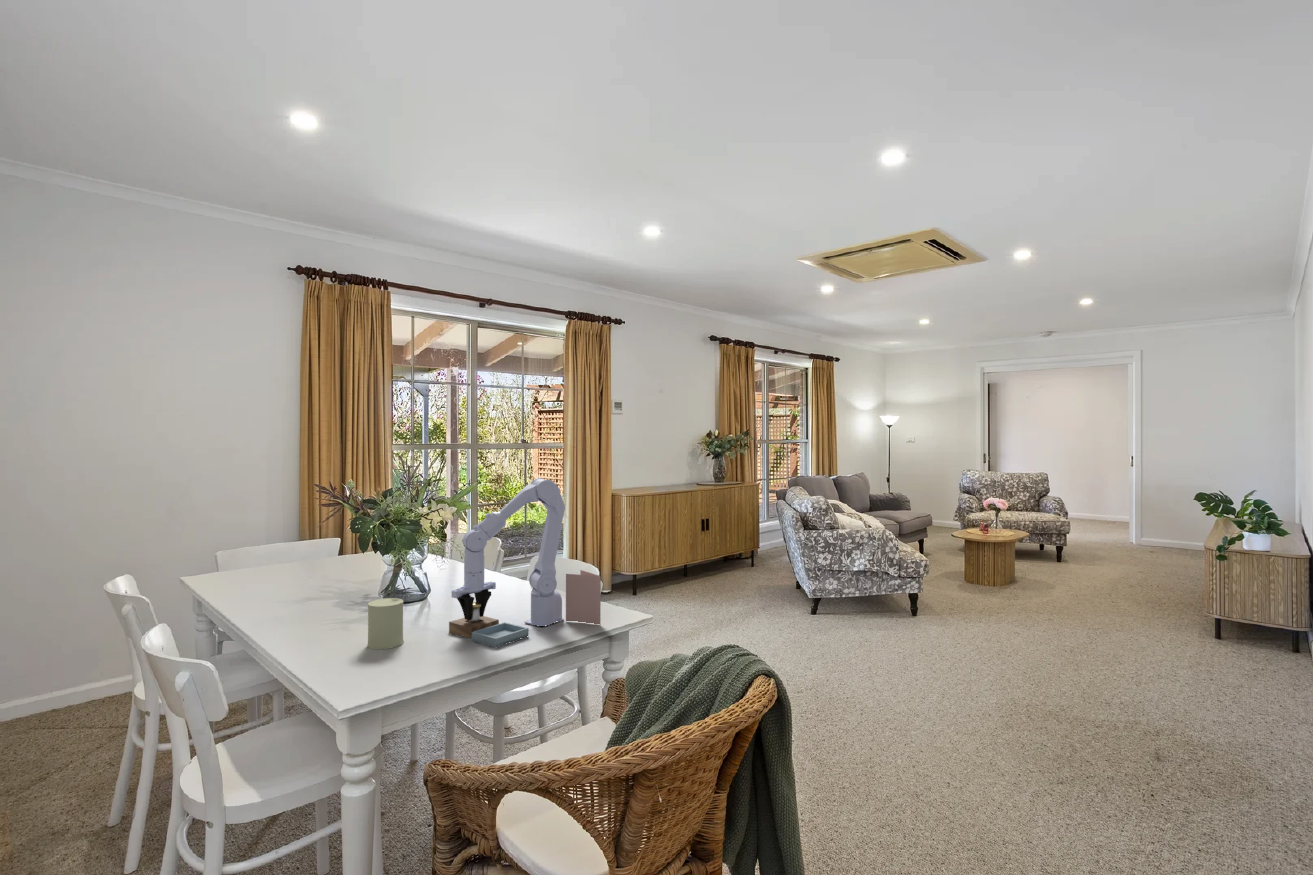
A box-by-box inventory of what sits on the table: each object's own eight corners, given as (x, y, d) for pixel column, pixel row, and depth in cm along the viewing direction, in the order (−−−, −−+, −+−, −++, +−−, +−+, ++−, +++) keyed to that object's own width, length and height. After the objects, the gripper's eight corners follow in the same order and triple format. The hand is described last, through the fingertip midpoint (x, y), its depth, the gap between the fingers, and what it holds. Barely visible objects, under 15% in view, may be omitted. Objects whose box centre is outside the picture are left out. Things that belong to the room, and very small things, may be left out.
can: (410, 642, 180) (411, 598, 180) (381, 651, 172) (382, 606, 172) (389, 636, 185) (389, 594, 185) (359, 645, 177) (360, 601, 177)
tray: (504, 630, 191) (504, 622, 191) (528, 636, 186) (528, 628, 186) (471, 640, 182) (471, 632, 182) (495, 647, 176) (495, 638, 176)
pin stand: (476, 624, 198) (476, 614, 198) (498, 629, 192) (498, 619, 192) (449, 632, 190) (449, 621, 190) (471, 638, 184) (471, 627, 184)
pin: (475, 628, 194) (475, 601, 194) (483, 630, 191) (484, 603, 191) (464, 631, 190) (464, 604, 190) (472, 633, 188) (473, 606, 188)
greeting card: (602, 625, 198) (602, 575, 198) (581, 629, 193) (582, 578, 193) (582, 616, 206) (582, 569, 206) (562, 620, 202) (562, 572, 202)
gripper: (484, 565, 199) (484, 610, 199) (444, 573, 187) (444, 620, 187) (500, 568, 195) (500, 613, 195) (460, 576, 183) (460, 625, 183)
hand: (474, 617), depth 191 cm, fingers closed on pin, 4 cm apart
